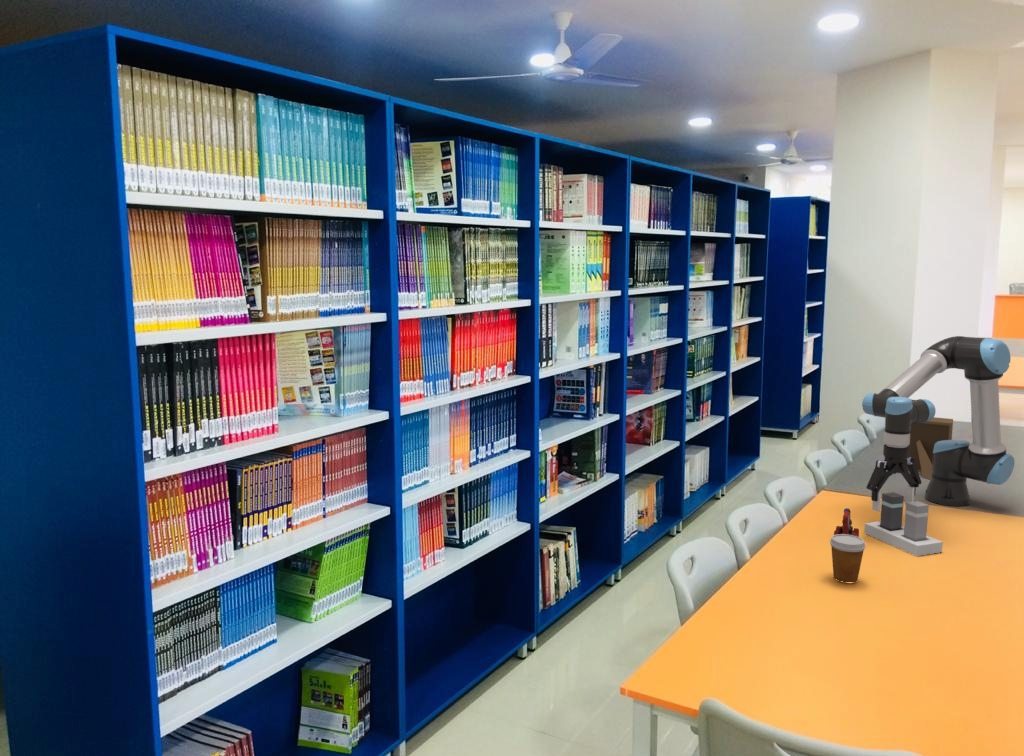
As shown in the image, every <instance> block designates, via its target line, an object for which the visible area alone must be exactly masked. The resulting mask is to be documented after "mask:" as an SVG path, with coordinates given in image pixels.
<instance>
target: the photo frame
mask: <svg viewBox="0 0 1024 756" xmlns="http://www.w3.org/2000/svg"><path fill="white" fill-rule="evenodd" d="M953 428H954V419H953V418H947V417H935V416H934V417H933V418H932V419H931V420H929V421H926V422H925V423H918V424H913V425H911V429H910V445H908V446H909V457H911V458H915V465H916V468H917V471H918V472H920V473H921V476H922V478H923V479H926V480H929V481H930V480H931V476H932V462H933V450H934V445H935V443H936V442H938V441H943V440H953ZM906 468H907V469H908V467H907V464H906ZM908 470H909V469H908Z"/></svg>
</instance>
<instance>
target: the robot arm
mask: <svg viewBox="0 0 1024 756" xmlns="http://www.w3.org/2000/svg"><path fill="white" fill-rule="evenodd" d="M1010 363H1011V353H1010V349H1009V347H1008V345H1007V344H1006V343H1005V342H1004V341H1003V340H999V339H993V338H991V337H990V338H989V337H974V336H973V337H972V336H962V335H955V336H951V337H947V338H944V339H942V340H939V341H937V342H936V343H934V344H932V345H930V346H929V347H928V348H926V349H925V350H924V351H922V353H921V354H920V357H919V359H918V360H916V361H915V362H914V363H913V364H912V365H911V366H909V367H908V368H907V369H906V370H905V371H904V372H902V373H901V374H900V375H898V376H897V377H896V378H895V379H893V380H892V382H890V383H889V384H888V385H887V386H886V387H885V388H883V389H882V390H881V391H880V392H879V393H876V392H873V393H871V392H870V393H867V394H865V396H864V397H863V399H862V403H861V407H862V410H863V412H864V413H865V414H867V415H872V416H874V417H878V418H879V417H880V418H884V436H883V443H884V444H883V449H882V450H883V452H882V453H883V456H884V460H883V461H881V460H876V462H875V466H874V469H873V472H872V473H871V475H870V478H869V480H868V482H867V485H866V487H865V488H866V489H867V490H870V491H871V497H870V498H871V502H872V503H871V506H872V507H871V510H872V511H876V512H877V513H879V512H880V513H881V505H882V504H881V502H882V491H880V490H882V488H883V487H884V485H885V483H886V482H887V481H888V479H889V477H890V476H893V475H895V474H901V475H902V477H903V478H904V479H905V481H906V482H907V484H908V485H907V484H906V486H905V498H904V499H905V501H904V503H905V505H906V502H913V501H915V496H916V488H919V486H920V485H922V480H921V476H920V474H919V473H918V471H917V468H916V465H915V458H911V457H909V446H908V445H910V429H911V425H913V424H918V423H925V422H926V421H929V420H931V419H932V418H933V417H935V416H936V406H935V405H934V403H933V402H932V401H931V400H929V399H925V398H923V399H922V398H919V399H911V398H910V397H911V396H912V395H914V393H916V392H917V391H918V390H920V389H921V388H922V387H923V386H924V385H925V384H926V383H928V382H929V381H930V380H931V379H932V378H933V377H934V376H936V375H937V374H941V373H944V372H945V371H946V370H949V369H957V370H962V371H963V370H964V371H963V373H964V378H965V379H966V380H968V381H969V391H970V392H969V393H970V411H971V428H972V442H971V443H970V441H967V440H962V439H952V440H943V441H938V442H936V443H935V445H934V450H933V462H932V476H931V480H929V482H928V485H927V487H926V489H925V491H924V499H925V500H926V499H927V500H926V501H928V500H929V502H931V503H933V502H934V504H937V503H938V505H943V506H949V505H950V507H951V506H952V507H965V506H969V505H970V504H971V495H970V494H969V489H968V485H967V479H969V480H973V481H978V482H982V483H986V484H988V485H989V484H991V485H996V486H997V485H998V486H1000V485H1003V484H1005V483H1006V482H1007V481H1008V480H1009V478H1010V477H1011V476H1012V473H1013V470H1014V468H1015V458H1014V456H1013V455H1011V454H1010V453H1007V447H1006V445H1005V444H1004V443H1003V442H1002V440H1001V439H1002V438H1001V437H1002V435H1001V416H1000V415H1001V414H1000V411H1001V410H1000V393H999V391H1000V390H999V389H1000V387H999V380H1000V379H1002V378H1003V376H1004V374H1005V373H1006V372H1007V371H1008V369H1009V368H1010ZM906 464H907V467H908V469H909V470H908V469H907V468H906Z"/></svg>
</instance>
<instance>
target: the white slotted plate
mask: <svg viewBox="0 0 1024 756" xmlns="http://www.w3.org/2000/svg"><path fill="white" fill-rule="evenodd" d="M863 531H864V533H863V534H865V533H866V534H865V535H867V534H868V535H867V536H869V535H870V536H869V537H872V538H874V537H875V538H874V539H877V540H878V539H879V540H878V541H881V542H883V541H884V542H883V543H885V542H886V543H885V544H887V543H888V544H887V545H889V544H890V546H892V547H894V546H895V548H896V547H898V548H900V549H899V550H901V549H902V550H901V551H903V550H904V551H903V552H905V551H906V553H907V552H909V553H908V554H910V553H911V554H910V555H912V554H913V555H912V556H914V555H915V556H914V557H916V556H917V557H922V556H921V555H924V556H928V555H927V554H930V555H935V554H934V553H937V554H941V553H940V552H942V553H943V544H944V543H943V541H942V540H939V539H936V538H934V537H931V536H929V535H926V540H923V541H917V542H914V541H912V540H910V539H907V538H905V537H904V525H902V528H901V530H896V531H888V530H886V529H884V528H881V527H880V520H879V521H871V522H865V523H864V530H863ZM898 548H897V549H898Z"/></svg>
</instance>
